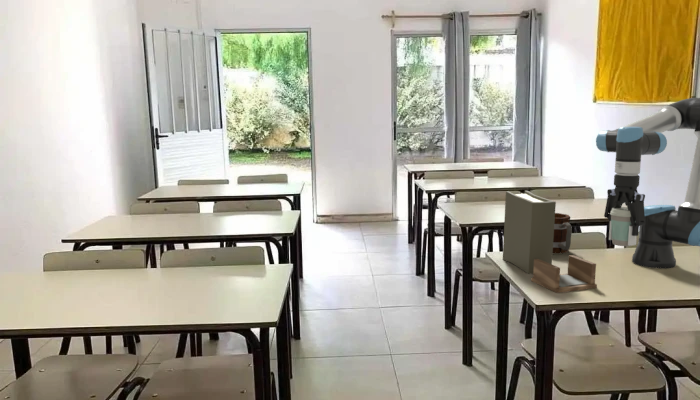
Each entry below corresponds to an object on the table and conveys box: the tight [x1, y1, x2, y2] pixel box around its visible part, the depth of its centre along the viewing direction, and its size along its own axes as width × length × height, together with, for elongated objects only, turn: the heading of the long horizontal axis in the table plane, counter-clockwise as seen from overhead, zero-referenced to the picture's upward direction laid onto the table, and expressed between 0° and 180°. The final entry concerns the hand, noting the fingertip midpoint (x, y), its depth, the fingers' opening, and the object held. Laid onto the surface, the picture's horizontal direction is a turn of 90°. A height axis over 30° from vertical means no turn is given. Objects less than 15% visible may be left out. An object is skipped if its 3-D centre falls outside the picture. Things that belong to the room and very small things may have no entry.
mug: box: [552, 212, 573, 255], centre depth 244 cm, size 20×14×15 cm
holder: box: [530, 254, 598, 294], centre depth 200 cm, size 16×14×8 cm
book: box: [502, 190, 557, 275], centre depth 222 cm, size 22×9×28 cm, turn 12°
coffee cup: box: [610, 206, 636, 247], centre depth 191 cm, size 8×8×12 cm
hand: (622, 242), depth 192 cm, fingers closed on coffee cup, 8 cm apart
